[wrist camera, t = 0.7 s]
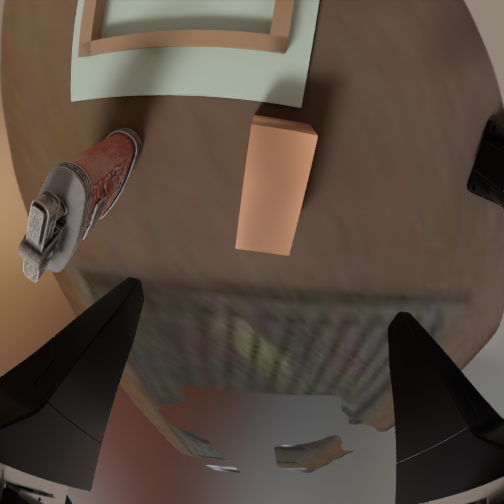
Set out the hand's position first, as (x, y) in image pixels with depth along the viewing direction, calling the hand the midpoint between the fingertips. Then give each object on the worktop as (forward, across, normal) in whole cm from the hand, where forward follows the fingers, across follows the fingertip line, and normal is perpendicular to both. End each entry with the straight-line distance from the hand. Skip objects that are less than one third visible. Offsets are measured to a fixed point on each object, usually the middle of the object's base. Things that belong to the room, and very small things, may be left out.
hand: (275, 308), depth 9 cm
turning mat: (+12, +7, -12) cm, 18 cm away
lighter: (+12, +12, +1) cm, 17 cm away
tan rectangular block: (+12, 0, 0) cm, 12 cm away
